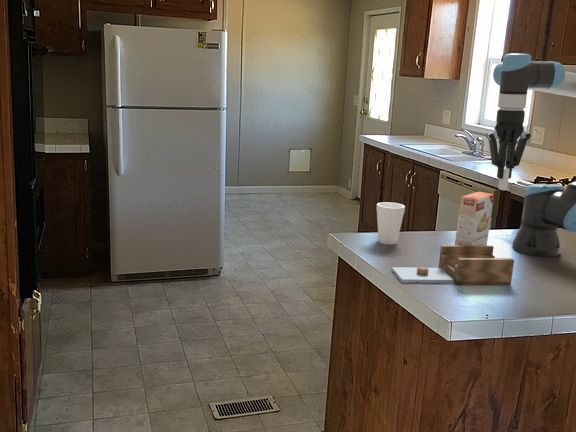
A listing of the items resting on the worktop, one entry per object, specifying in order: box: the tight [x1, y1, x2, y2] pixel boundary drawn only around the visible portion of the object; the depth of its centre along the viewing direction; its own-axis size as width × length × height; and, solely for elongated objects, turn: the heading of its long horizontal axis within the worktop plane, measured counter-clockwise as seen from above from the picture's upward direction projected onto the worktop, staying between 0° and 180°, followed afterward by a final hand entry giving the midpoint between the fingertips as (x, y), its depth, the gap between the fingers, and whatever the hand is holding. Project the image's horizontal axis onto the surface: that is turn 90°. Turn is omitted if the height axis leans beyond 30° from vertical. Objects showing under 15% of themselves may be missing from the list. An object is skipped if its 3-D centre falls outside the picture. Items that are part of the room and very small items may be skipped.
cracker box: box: [454, 191, 495, 246], centre depth 192 cm, size 14×6×21 cm, turn 141°
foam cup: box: [376, 201, 406, 245], centre depth 207 cm, size 10×9×13 cm
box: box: [438, 244, 515, 286], centre depth 175 cm, size 16×14×8 cm
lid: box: [391, 266, 455, 284], centre depth 173 cm, size 15×10×3 cm
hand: (502, 189), depth 179 cm, fingers closed
